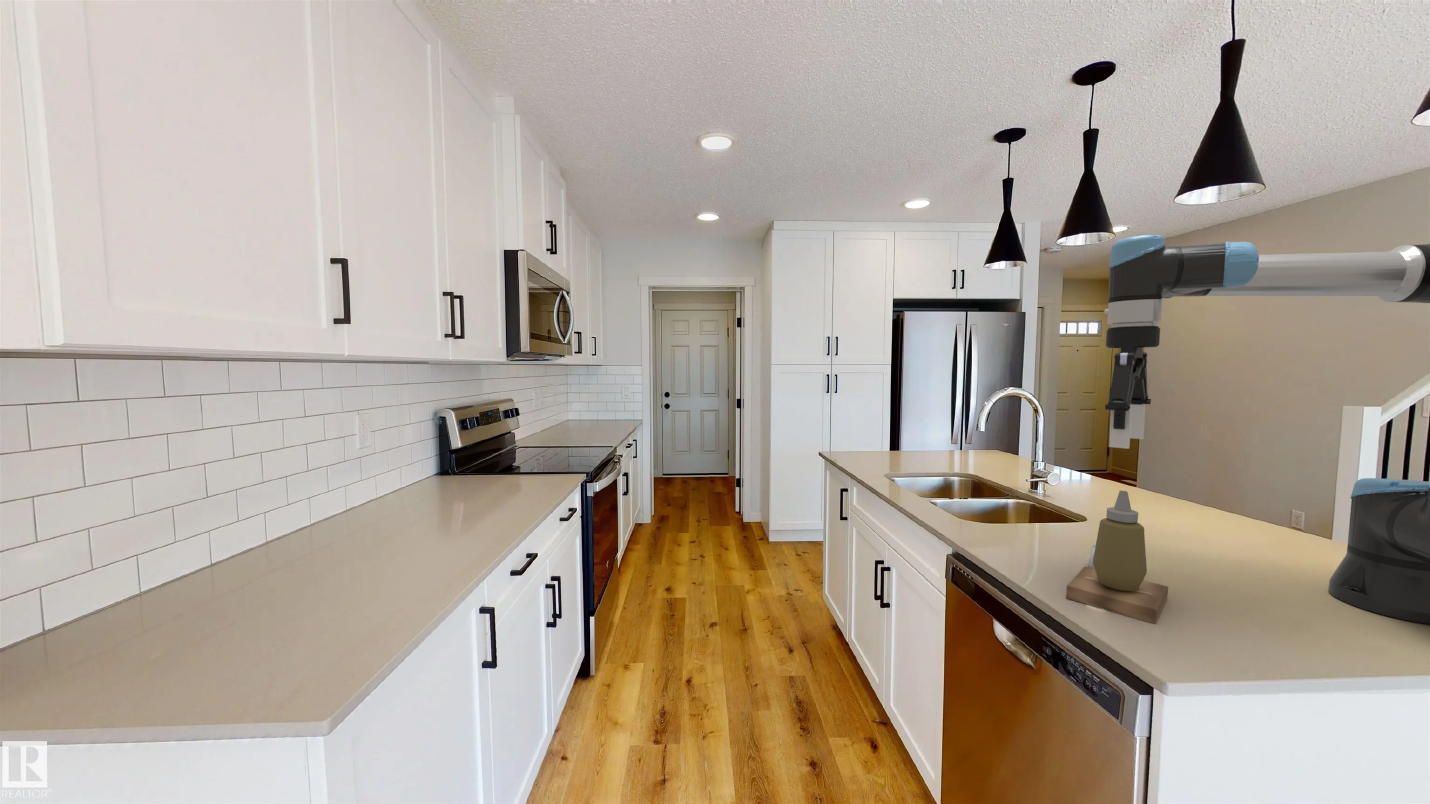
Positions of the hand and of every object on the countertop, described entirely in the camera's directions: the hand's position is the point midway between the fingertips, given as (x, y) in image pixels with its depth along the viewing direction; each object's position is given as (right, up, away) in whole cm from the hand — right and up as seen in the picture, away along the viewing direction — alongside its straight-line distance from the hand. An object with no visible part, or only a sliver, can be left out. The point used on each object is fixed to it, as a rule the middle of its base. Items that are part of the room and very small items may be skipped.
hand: (1127, 442), depth 95 cm
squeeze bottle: (0, -27, +3) cm, 27 cm away
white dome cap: (+9, -28, +16) cm, 34 cm away
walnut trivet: (0, -30, +3) cm, 30 cm away
